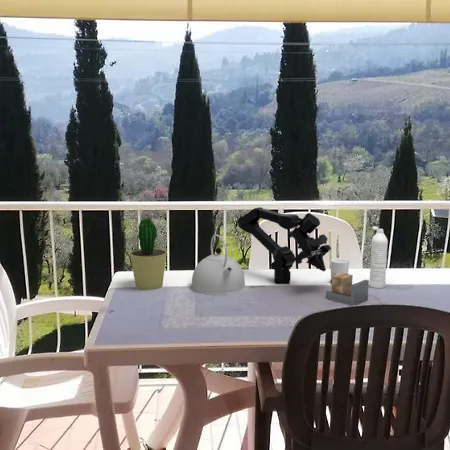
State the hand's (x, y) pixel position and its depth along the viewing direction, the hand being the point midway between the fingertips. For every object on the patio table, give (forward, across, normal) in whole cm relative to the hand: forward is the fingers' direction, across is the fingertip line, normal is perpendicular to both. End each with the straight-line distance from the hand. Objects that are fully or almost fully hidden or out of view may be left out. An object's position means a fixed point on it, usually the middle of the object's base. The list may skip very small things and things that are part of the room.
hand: (324, 270), depth 224 cm
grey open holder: (+14, 0, -1) cm, 14 cm away
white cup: (+4, +17, +10) cm, 20 cm away
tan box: (+11, 0, 0) cm, 11 cm away
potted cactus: (-34, -44, +48) cm, 74 cm away
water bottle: (+14, +25, 0) cm, 28 cm away
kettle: (-18, -25, +32) cm, 45 cm away
